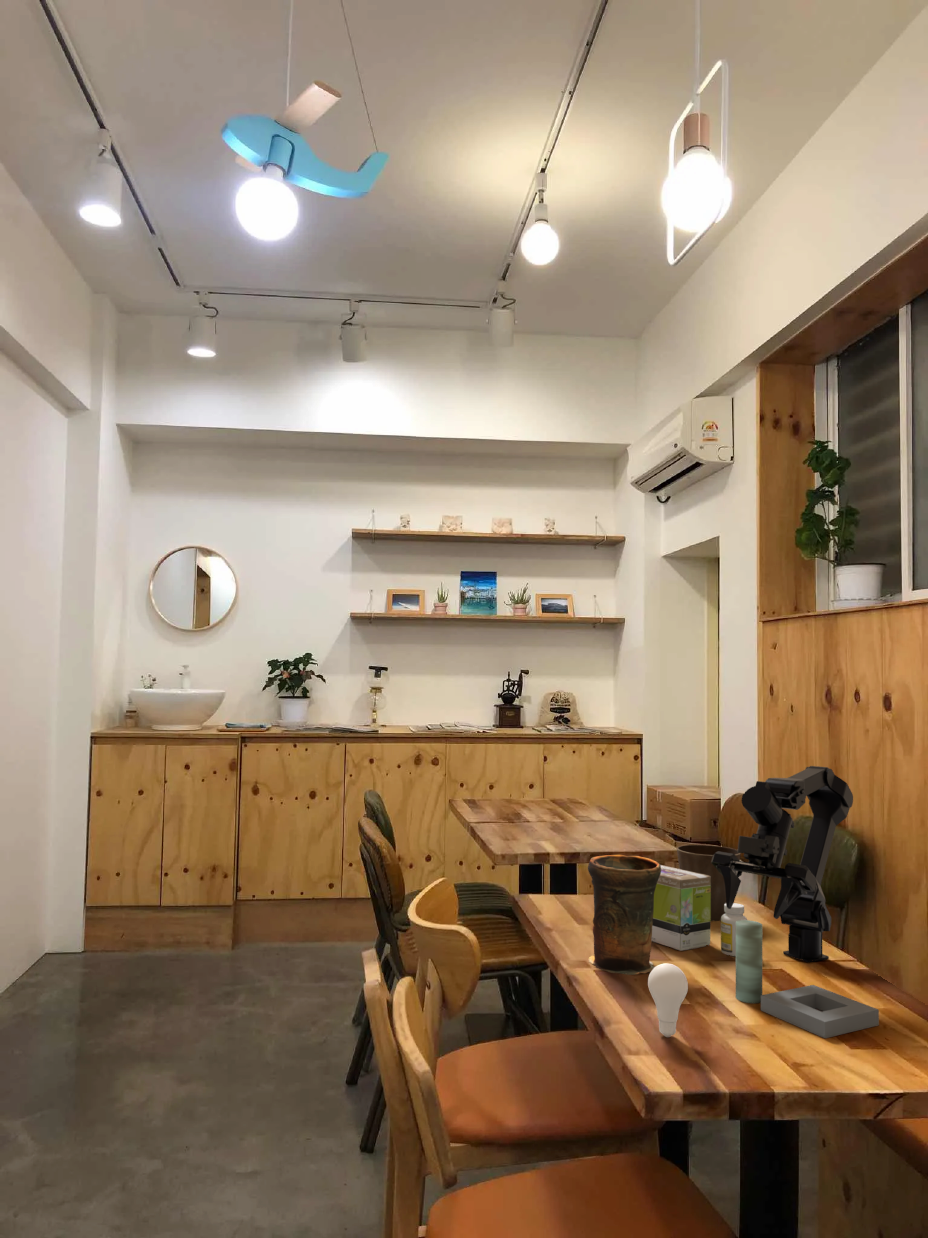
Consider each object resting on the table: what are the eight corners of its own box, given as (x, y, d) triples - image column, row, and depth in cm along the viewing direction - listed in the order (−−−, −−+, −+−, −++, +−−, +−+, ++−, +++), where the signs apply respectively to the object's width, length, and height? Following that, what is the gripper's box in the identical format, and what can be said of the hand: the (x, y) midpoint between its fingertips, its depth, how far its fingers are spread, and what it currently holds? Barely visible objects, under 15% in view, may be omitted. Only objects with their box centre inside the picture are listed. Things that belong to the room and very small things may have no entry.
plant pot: (663, 915, 210) (664, 848, 211) (698, 906, 220) (698, 842, 221) (719, 929, 199) (719, 858, 200) (752, 919, 209) (752, 851, 210)
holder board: (813, 999, 154) (813, 985, 154) (878, 1025, 143) (878, 1009, 143) (760, 1010, 148) (760, 995, 148) (824, 1038, 137) (824, 1022, 137)
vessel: (660, 955, 177) (661, 856, 179) (660, 979, 164) (661, 871, 165) (590, 949, 181) (590, 851, 182) (583, 972, 167) (584, 866, 168)
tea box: (712, 946, 186) (712, 875, 187) (680, 952, 180) (680, 880, 181) (659, 928, 198) (660, 862, 199) (627, 934, 192) (628, 866, 194)
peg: (748, 993, 157) (748, 919, 158) (767, 1001, 153) (767, 925, 154) (730, 996, 154) (730, 921, 155) (749, 1005, 151) (749, 928, 152)
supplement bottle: (748, 951, 182) (748, 903, 183) (747, 958, 177) (747, 909, 178) (721, 948, 184) (721, 901, 185) (720, 955, 179) (720, 906, 180)
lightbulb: (642, 1029, 138) (643, 958, 139) (680, 1029, 139) (680, 958, 140) (654, 1045, 132) (654, 970, 133) (693, 1044, 133) (693, 970, 134)
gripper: (711, 811, 171) (688, 885, 164) (804, 823, 158) (784, 904, 151) (733, 838, 178) (712, 910, 170) (825, 852, 165) (806, 930, 157)
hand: (751, 913), depth 162 cm, fingers open, 9 cm apart
